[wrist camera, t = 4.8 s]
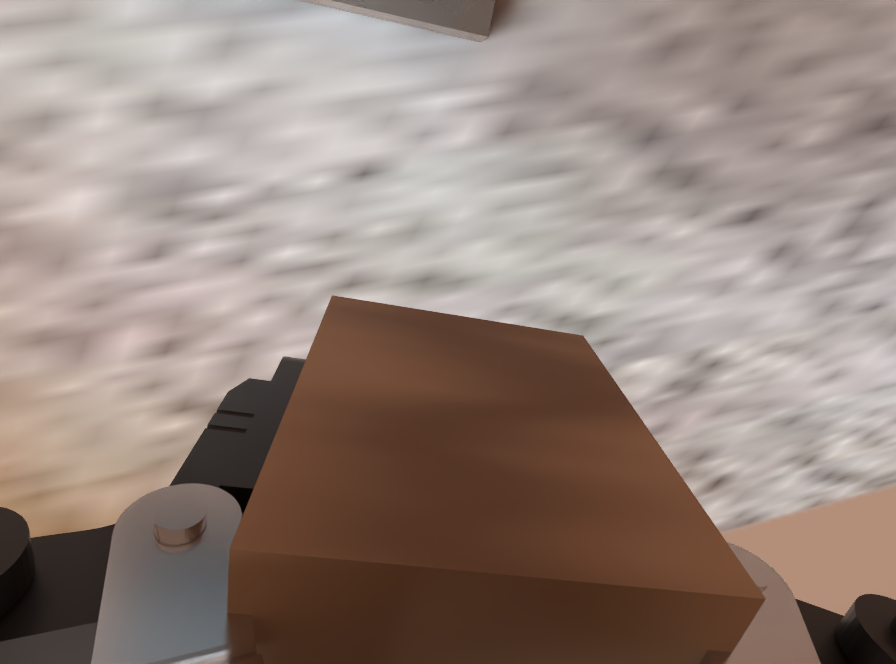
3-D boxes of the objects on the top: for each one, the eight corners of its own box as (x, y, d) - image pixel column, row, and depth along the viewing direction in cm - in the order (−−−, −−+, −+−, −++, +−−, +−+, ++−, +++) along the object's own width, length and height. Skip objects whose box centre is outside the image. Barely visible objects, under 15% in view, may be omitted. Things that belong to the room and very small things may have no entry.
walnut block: (583, 335, 10) (766, 598, 5) (531, 489, 12) (628, 816, 7) (331, 295, 10) (229, 548, 4) (313, 464, 11) (219, 804, 6)
